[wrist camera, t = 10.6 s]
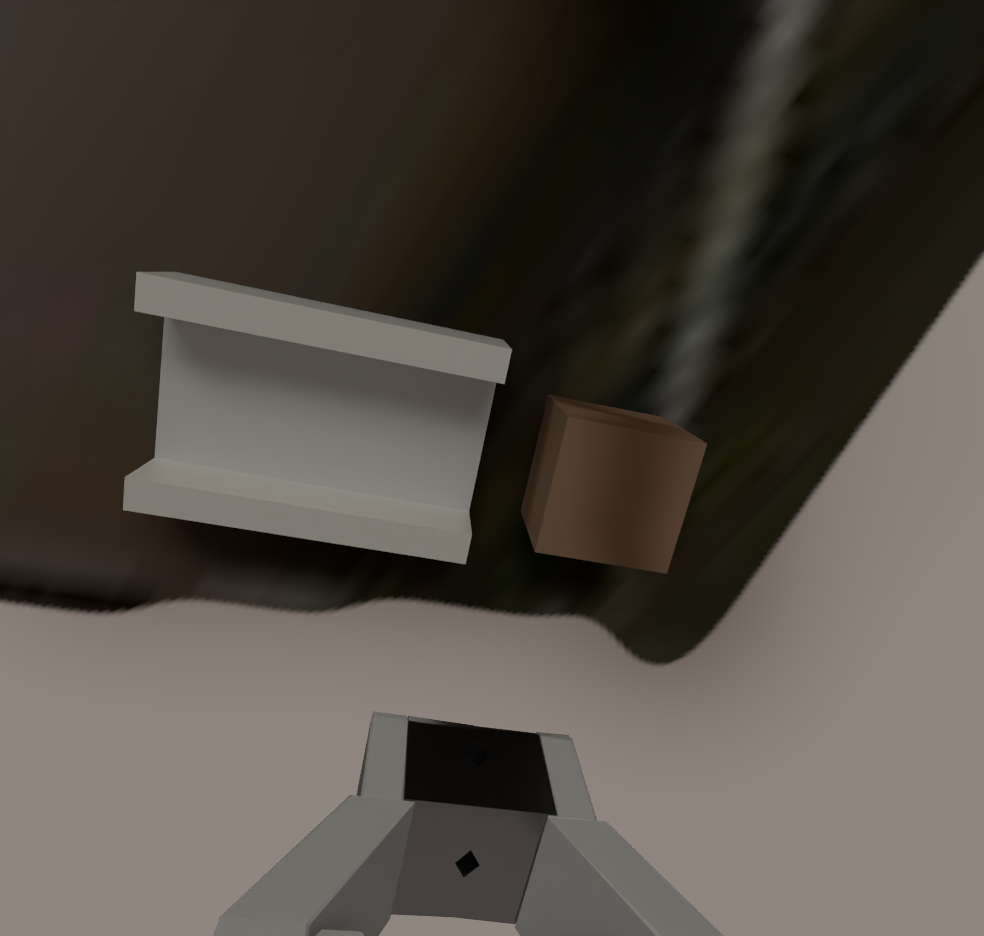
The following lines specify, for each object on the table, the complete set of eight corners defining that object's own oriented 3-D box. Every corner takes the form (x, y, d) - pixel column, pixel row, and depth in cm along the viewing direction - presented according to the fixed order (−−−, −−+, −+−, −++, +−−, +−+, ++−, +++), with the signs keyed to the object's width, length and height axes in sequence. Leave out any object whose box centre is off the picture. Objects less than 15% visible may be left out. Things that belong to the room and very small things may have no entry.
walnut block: (520, 510, 32) (534, 552, 28) (548, 394, 31) (568, 417, 26) (633, 530, 33) (666, 573, 28) (666, 418, 32) (707, 443, 27)
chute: (161, 481, 32) (122, 509, 28) (176, 271, 29) (136, 271, 25) (462, 531, 34) (465, 564, 30) (503, 339, 31) (511, 349, 27)
